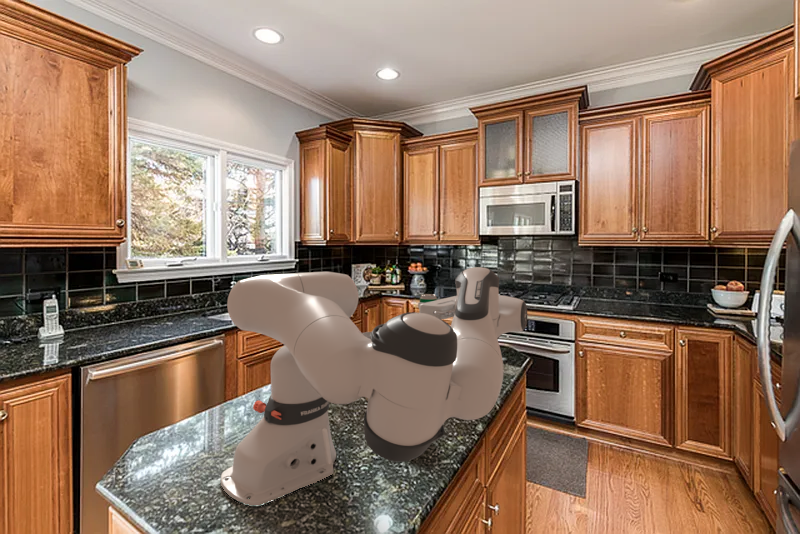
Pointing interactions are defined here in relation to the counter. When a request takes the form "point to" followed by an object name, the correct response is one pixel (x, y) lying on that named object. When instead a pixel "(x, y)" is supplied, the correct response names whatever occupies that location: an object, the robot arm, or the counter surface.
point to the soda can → (427, 298)
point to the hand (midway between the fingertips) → (425, 303)
